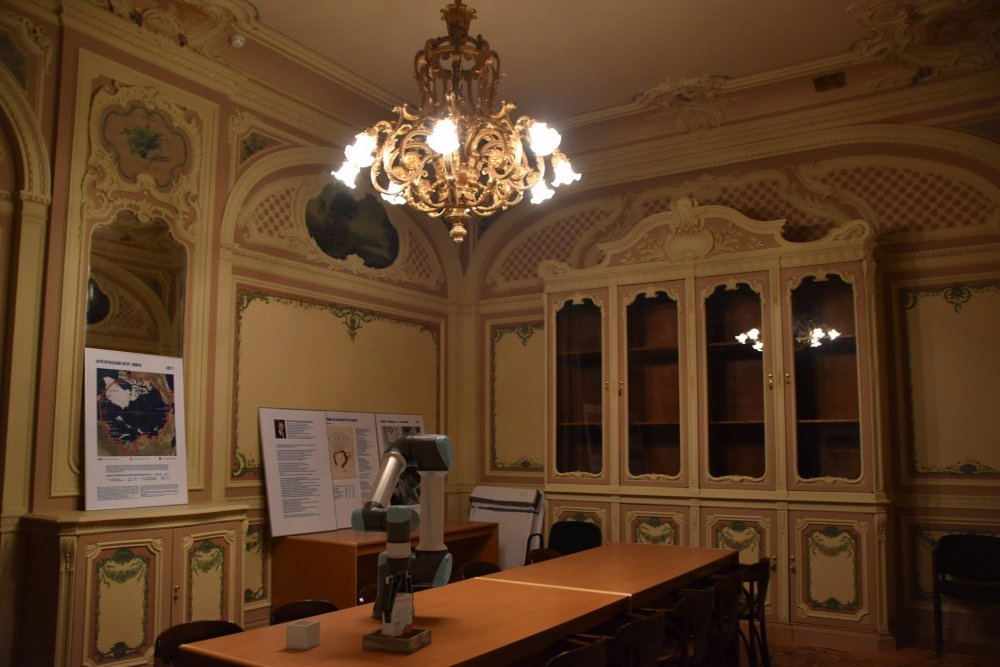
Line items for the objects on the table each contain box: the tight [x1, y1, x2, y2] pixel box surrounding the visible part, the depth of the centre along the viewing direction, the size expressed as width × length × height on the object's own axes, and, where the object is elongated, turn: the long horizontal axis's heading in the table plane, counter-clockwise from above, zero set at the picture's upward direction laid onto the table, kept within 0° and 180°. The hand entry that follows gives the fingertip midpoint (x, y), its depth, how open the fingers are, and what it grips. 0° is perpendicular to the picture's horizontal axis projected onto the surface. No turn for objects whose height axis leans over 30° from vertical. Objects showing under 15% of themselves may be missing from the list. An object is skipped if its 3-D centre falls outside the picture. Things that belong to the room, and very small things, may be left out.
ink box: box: [381, 593, 414, 637], centre depth 257 cm, size 9×5×12 cm, turn 137°
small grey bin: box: [285, 619, 321, 651], centre depth 256 cm, size 7×7×7 cm
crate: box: [361, 627, 432, 656], centre depth 256 cm, size 15×16×4 cm
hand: (397, 629), depth 256 cm, fingers closed on ink box, 9 cm apart
